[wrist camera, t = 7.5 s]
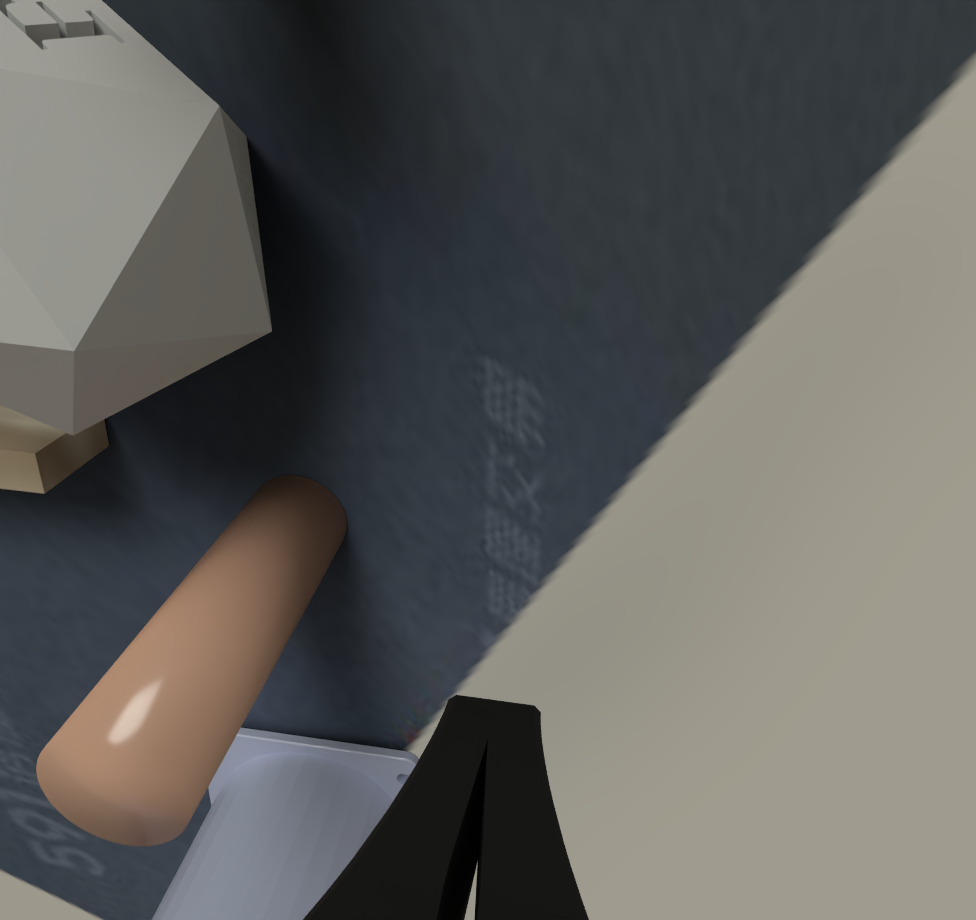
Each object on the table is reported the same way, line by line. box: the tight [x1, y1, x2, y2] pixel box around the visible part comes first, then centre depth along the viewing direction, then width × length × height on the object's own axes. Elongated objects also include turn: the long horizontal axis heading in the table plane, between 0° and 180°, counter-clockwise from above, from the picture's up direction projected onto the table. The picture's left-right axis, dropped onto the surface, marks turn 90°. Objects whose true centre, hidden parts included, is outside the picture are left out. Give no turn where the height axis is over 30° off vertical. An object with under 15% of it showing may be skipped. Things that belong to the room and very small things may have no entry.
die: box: [0, 0, 272, 436], centre depth 16 cm, size 8×9×10 cm
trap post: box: [36, 475, 347, 846], centre depth 18 cm, size 3×3×10 cm
